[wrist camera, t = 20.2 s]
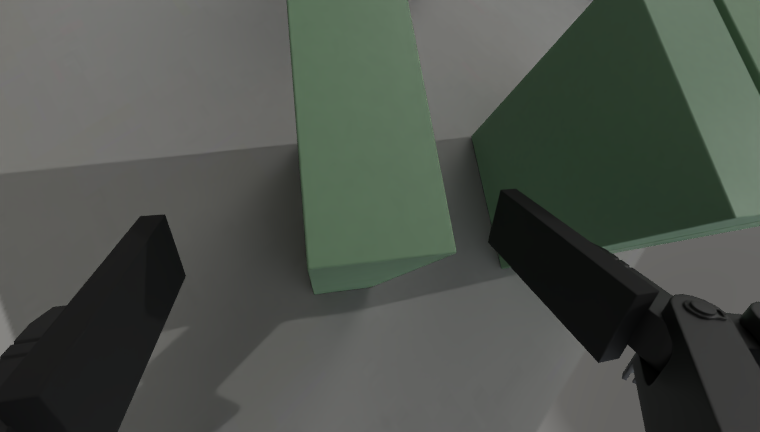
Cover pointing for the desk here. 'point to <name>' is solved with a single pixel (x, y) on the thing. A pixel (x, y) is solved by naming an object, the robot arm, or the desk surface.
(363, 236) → the sage book
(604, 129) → the green book
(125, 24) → the desk surface
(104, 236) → the desk surface
